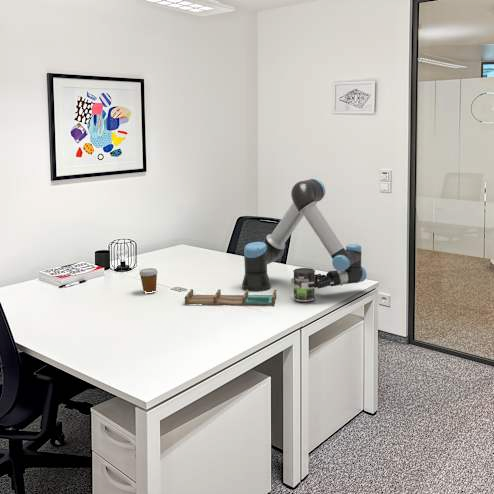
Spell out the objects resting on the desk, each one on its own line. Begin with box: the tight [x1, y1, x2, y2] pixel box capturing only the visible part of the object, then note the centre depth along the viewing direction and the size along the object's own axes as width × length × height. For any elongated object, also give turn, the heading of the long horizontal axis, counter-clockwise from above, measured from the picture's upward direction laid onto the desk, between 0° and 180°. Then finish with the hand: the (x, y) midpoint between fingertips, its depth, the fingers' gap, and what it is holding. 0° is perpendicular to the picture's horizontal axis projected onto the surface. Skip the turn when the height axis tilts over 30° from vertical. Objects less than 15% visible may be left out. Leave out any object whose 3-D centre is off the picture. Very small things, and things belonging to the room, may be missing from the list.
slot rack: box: [184, 288, 277, 307], centre depth 291 cm, size 14×43×4 cm, turn 82°
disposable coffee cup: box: [139, 267, 159, 292], centre depth 310 cm, size 10×10×12 cm
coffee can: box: [293, 267, 316, 302], centre depth 287 cm, size 10×10×14 cm
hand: (296, 283), depth 285 cm, fingers closed on coffee can, 10 cm apart
